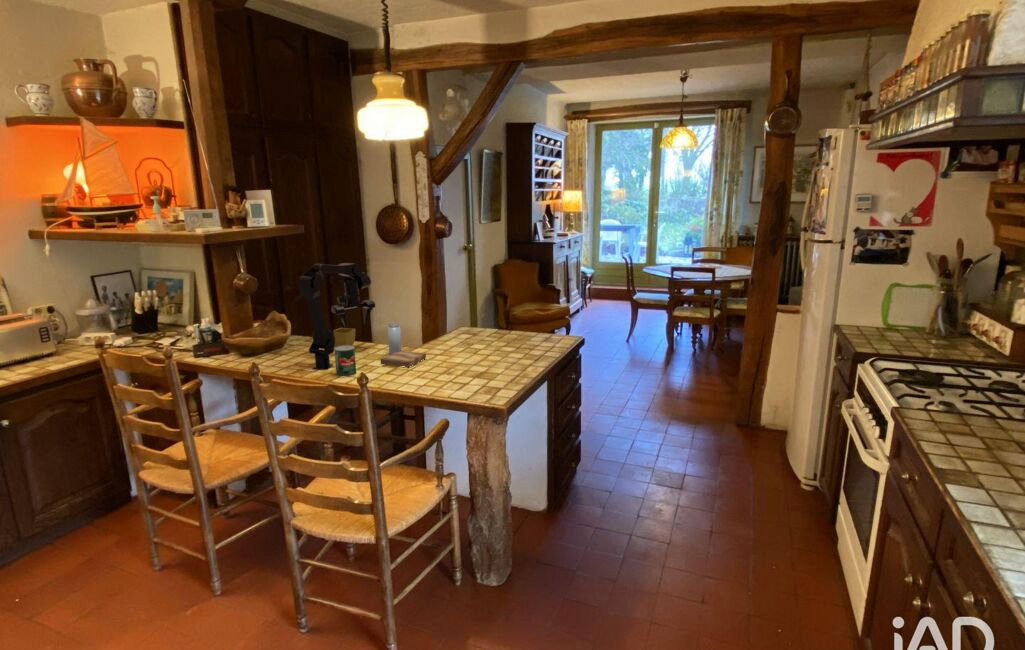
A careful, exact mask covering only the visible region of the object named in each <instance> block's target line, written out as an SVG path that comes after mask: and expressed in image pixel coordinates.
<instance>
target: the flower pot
mask: <svg viewBox="0 0 1025 650" xmlns="http://www.w3.org/2000/svg"><path fill="white" fill-rule="evenodd" d="M332 330H333V332H334V336H335V338H336V339H335V346H334V348H335V347H338V346H343V345H351V346H354V343H355V340H356V328H349V327H339V328H337V329H332Z"/></svg>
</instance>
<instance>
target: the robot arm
mask: <svg viewBox="0 0 1025 650" xmlns="http://www.w3.org/2000/svg"><path fill="white" fill-rule="evenodd" d="M326 274H330V275H331V274H334V275H335V274H336V275H339V276H343V278H342V279H341V280H340V283H341V284H344V291H345V292H344V293H343V295H344V296H342V295H338V296H336V302H337V304H335V305H331V308H330V311H331V313H333V314H334V315H337V316H338V317H339V319H340V320H341V322H342V324H343V326H344V328H348V327H347V324H348V323H347V316H346V313H345V311H349V310H352V309H353V310H355V309H359V308H360V309H362V317H363V324H367V321H368V317H369V315H370V313H371V312H372V311H373V310H374V308H376V301H374V300H371V299H365V300H362V301H361V302H360V297H361V293H359V292H360V291H359V290H363V289H364V288H368V287H370V286H371V284H372V280H371V277H369V275H367V274H368V273H367V272H362V270H361V268H359V266H358V264H357V263H353V262H352V263H351V262H343V263H339V264H323V263H315V264H313V265H312V266H311V267H310V268H309V269H308V270H306V271H305V272H303V273H302V274H301V276H299V278H298V280H297V282H296V285H297V288H298V290H299V293H300V294H301V295H302V296H303V297H304V298H305V300H306V304H307V308H308V312H309V315H310V319H311V322H312V326H313V329H314V331H313V334H312V342H311V345H310V346H309V348H308V352H309V354H310V355H311V354H313V355H314V361H315V362H314V363H315V365H314V366H312V370H329V369H330V368H332V367H333V366H334V364H333V363H331V361H330V355H331V354H333V353H335V350H334V348H335V347H334V346H335V339H336V338H335V336H334V332H333V330H334V329H329V328H328V327H327V324H326V319H325V316H324V312H323V308H322V303H321V300H320V297H319V296H320V293H321V285H322V283H323V282H324V281H325V275H326ZM328 368H329V369H328Z"/></svg>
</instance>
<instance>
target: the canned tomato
mask: <svg viewBox="0 0 1025 650" xmlns="http://www.w3.org/2000/svg"><path fill="white" fill-rule="evenodd" d="M355 350H356V349H355V346H354V345H353V346H351V345H343V346H338V347H334V362H335V363H334V364H335V375H336V376H337V377H339V376H348V377H351V376H350V375H353V376H355V375H356V374H357V364H356V353H355V352H356V351H355ZM354 374H355V375H354Z"/></svg>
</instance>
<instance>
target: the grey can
mask: <svg viewBox="0 0 1025 650" xmlns="http://www.w3.org/2000/svg"><path fill="white" fill-rule="evenodd" d="M387 340H388V353H389V354H393V353H395V352H397V351H402V350H403V349H402V331H401V325H400V323H390V324H388V326H387Z"/></svg>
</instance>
